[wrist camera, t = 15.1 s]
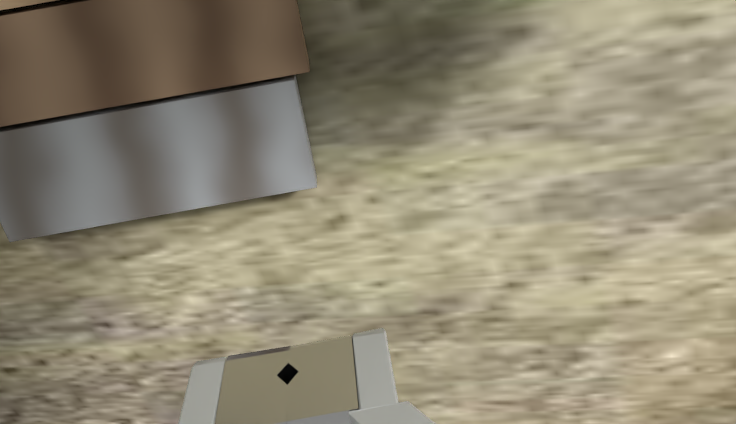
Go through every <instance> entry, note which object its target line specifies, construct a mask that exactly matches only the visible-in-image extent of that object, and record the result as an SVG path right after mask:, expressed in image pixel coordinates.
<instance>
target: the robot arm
mask: <svg viewBox="0 0 736 424" xmlns="http://www.w3.org/2000/svg"><path fill="white" fill-rule="evenodd" d="M178 424H436V423H434V422H433V421H432V420H431V419H429V418H428V417H427V416H426V415H425V414H423V413H422V412H421V411H420V410H418V409H417V408H416V407H415V406H413V405H412V404H411V403H410V402H409V401H405V402H398V397H397V391H396V386H395V380H394V375H393V369H392V363H391V358H390V352H389V347H388V341H387V336H386V331H385V330H384V328H379V329H374V330H370V331H365V332H360V333H355V334H353V335H350V336H344V337H339V338H333V339H328V340H323V341H317V342H312V343H307V344H301V345H296V346H288V347H282V348H276V349H269V350H263V351H257V352H250V353H244V354H238V355H231V356H228V357H221V358H215V359H209V360H203V361H197V362H196V363H195V365H194V366H193V367H192V369H191V373H190V377H189V381H188V385H187V389H186V393H185V397H184V402H183V406H182V410H181V414H180V418H179V422H178Z"/></svg>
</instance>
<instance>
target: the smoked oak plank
mask: <svg viewBox="0 0 736 424" xmlns="http://www.w3.org/2000/svg"><path fill="white" fill-rule="evenodd" d="M51 1H56V0H0V10H5V9H11V8H17V7H22V6H28V5H34V4H39V3H45V2H51Z"/></svg>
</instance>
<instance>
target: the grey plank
mask: <svg viewBox="0 0 736 424" xmlns="http://www.w3.org/2000/svg"><path fill="white" fill-rule="evenodd" d="M315 187H317V175H316V170H315V166H314V161H313V156H312V151H311V147H310V142H309V137H308V132H307V127H306V123H305V118H304V113H303V108H302V104H301V99H300V94H299V89H298V85H297V80H296V75H289V76H284V77H278V78H272V79H267V80H261V81H256V82H250V83H244V84H239V85H233V86H227V87H222V88H216V89H211V90H205V91H199V92H194V93H188V94H182V95H177V96H171V97H165V98H160V99H154V100H149V101H143V102H137V103H132V104H126V105H120V106H115V107H109V108H104V109H98V110H92V111H87V112H81V113H75V114H70V115H64V116H58V117H53V118H47V119H42V120H36V121H30V122H25V123H19V124H13V125H8V126H2V127H0V223H1V225H2V227H3V229H4V231H5V233H6V236H7V238H8V240H9V242H13V241H18V240H24V239H30V238H35V237H41V236H46V235H52V234H58V233H63V232H69V231H74V230H80V229H86V228H91V227H97V226H102V225H108V224H114V223H119V222H125V221H130V220H136V219H142V218H147V217H153V216H158V215H164V214H170V213H175V212H181V211H186V210H192V209H198V208H203V207H209V206H214V205H220V204H226V203H231V202H237V201H242V200H248V199H254V198H259V197H265V196H270V195H276V194H282V193H287V192H293V191H298V190H304V189H310V188H315Z"/></svg>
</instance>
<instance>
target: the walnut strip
mask: <svg viewBox="0 0 736 424" xmlns="http://www.w3.org/2000/svg"><path fill="white" fill-rule="evenodd" d="M306 72H310V63H309V58H308V53H307V48H306V43H305V38H304V33H303V28H302V23H301V18H300V13H299V8H298V3H297V0H67V1H62V2H56V3H50V4H45V5H39V6H33V7H28V8H22V9H16V10H11V11H5V12H0V127H2V126H8V125H13V124H19V123H25V122H30V121H36V120H42V119H47V118H53V117H58V116H64V115H70V114H75V113H81V112H87V111H92V110H98V109H104V108H109V107H115V106H120V105H126V104H132V103H137V102H143V101H149V100H154V99H160V98H165V97H171V96H177V95H182V94H188V93H194V92H199V91H205V90H211V89H216V88H222V87H227V86H233V85H239V84H244V83H250V82H256V81H261V80H267V79H272V78H278V77H284V76H289V75H295V74H301V73H306Z"/></svg>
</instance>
